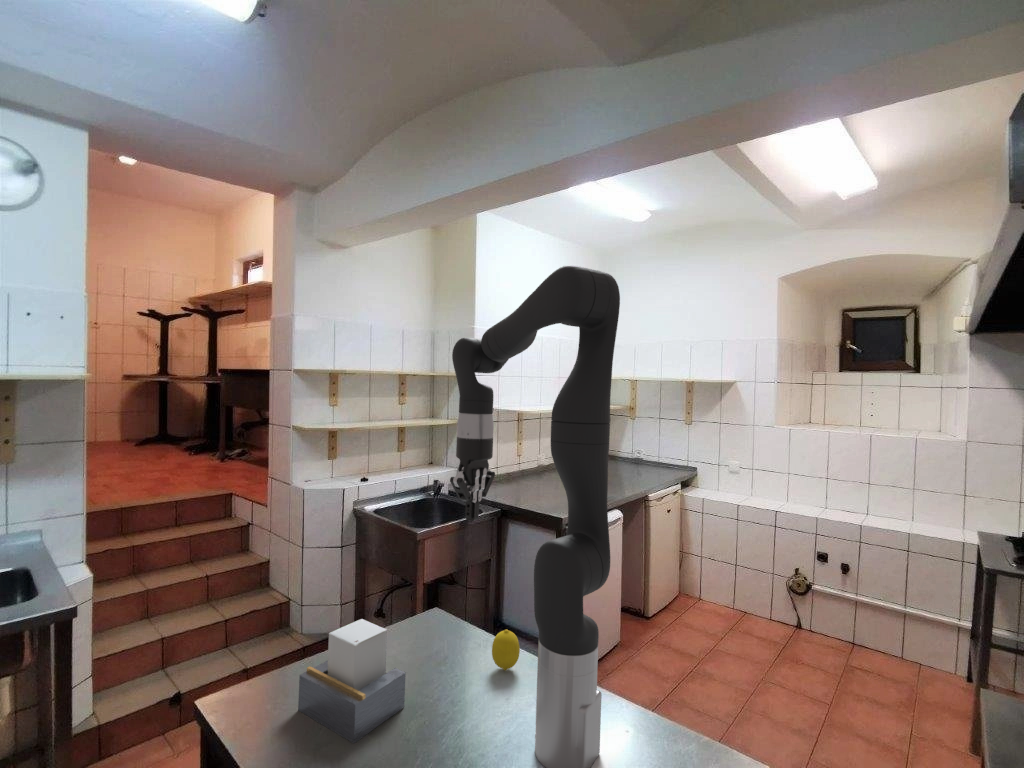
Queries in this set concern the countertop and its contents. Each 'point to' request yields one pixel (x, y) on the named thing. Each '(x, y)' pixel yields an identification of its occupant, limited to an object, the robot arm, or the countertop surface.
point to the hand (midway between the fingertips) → (472, 519)
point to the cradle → (350, 701)
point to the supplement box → (357, 653)
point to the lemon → (505, 649)
